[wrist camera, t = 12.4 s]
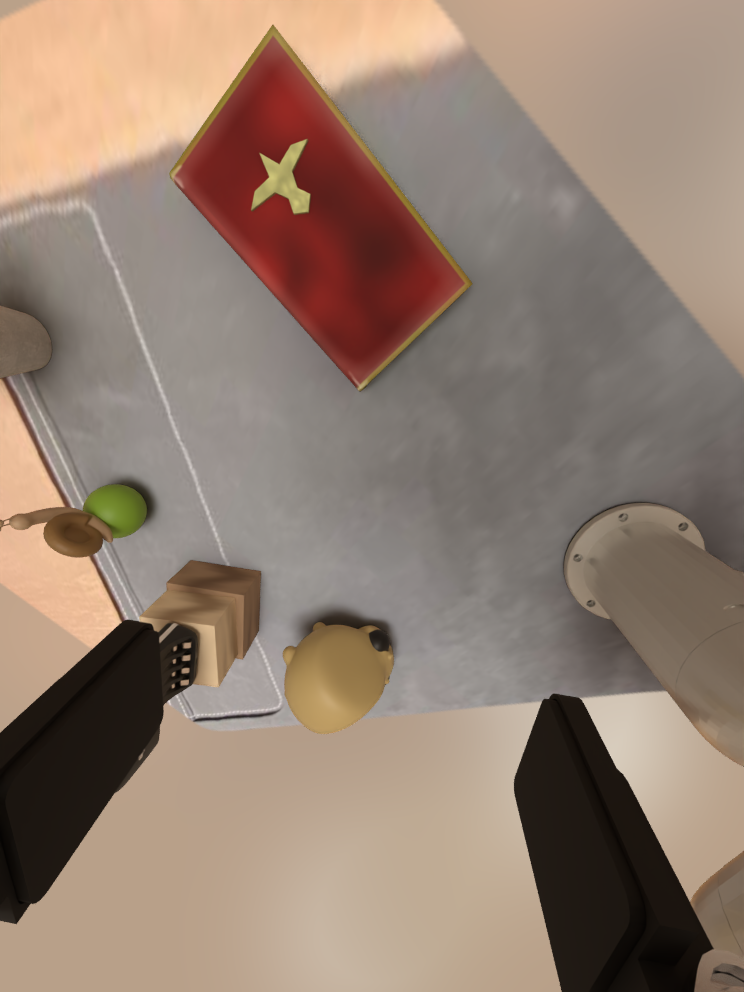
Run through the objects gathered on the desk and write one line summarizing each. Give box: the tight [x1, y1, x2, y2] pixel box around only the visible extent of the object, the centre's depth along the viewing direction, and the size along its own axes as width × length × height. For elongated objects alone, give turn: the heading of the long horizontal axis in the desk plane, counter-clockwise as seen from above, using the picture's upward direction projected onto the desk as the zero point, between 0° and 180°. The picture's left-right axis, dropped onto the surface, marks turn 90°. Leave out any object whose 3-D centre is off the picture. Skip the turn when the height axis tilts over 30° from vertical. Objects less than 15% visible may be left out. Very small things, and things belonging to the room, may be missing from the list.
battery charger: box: [116, 623, 198, 792], centre depth 31 cm, size 7×4×11 cm, turn 168°
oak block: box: [139, 590, 238, 687], centre depth 39 cm, size 7×7×4 cm
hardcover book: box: [169, 25, 472, 391], centre depth 32 cm, size 12×21×4 cm, turn 42°
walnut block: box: [166, 560, 261, 659], centre depth 43 cm, size 8×8×5 cm
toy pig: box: [283, 622, 394, 734], centre depth 42 cm, size 10×12×11 cm
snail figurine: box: [0, 484, 147, 557], centre depth 37 cm, size 5×6×12 cm
